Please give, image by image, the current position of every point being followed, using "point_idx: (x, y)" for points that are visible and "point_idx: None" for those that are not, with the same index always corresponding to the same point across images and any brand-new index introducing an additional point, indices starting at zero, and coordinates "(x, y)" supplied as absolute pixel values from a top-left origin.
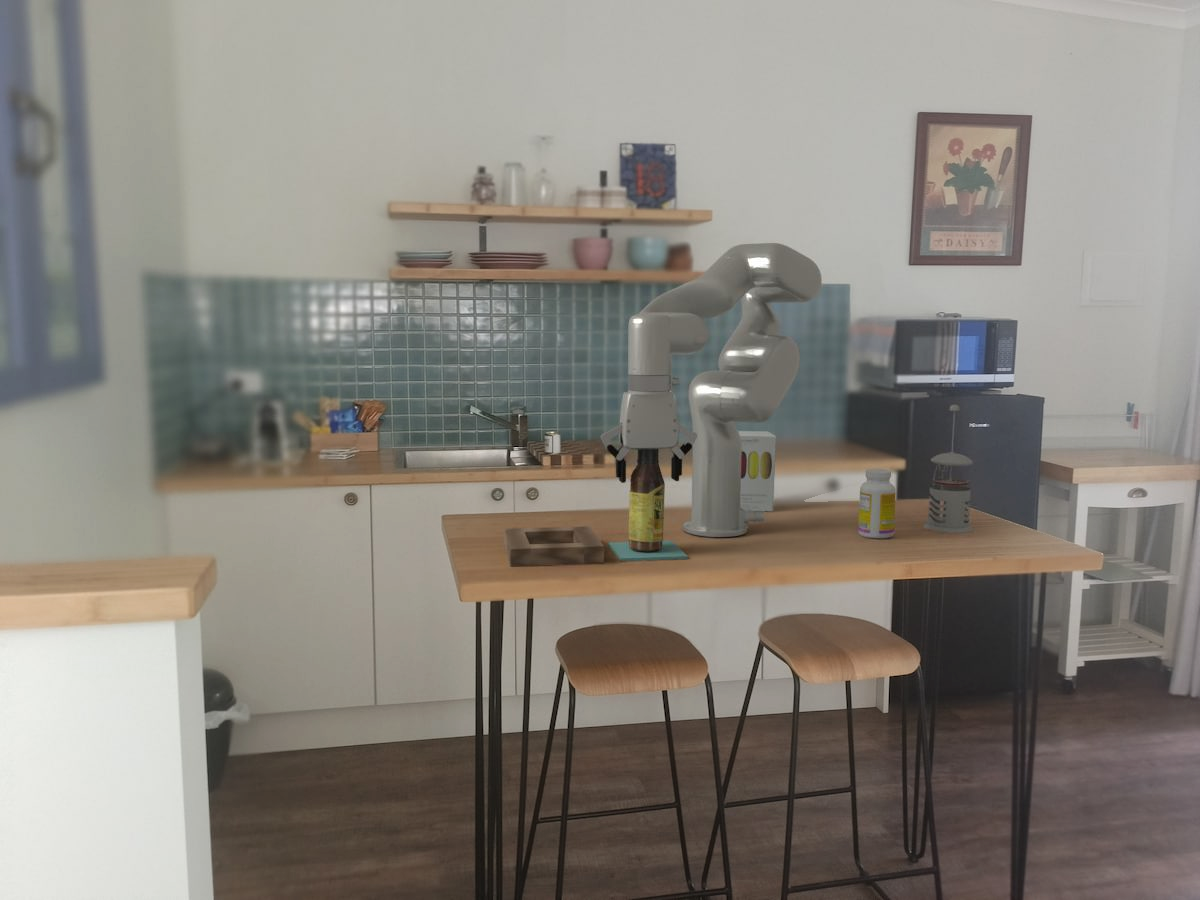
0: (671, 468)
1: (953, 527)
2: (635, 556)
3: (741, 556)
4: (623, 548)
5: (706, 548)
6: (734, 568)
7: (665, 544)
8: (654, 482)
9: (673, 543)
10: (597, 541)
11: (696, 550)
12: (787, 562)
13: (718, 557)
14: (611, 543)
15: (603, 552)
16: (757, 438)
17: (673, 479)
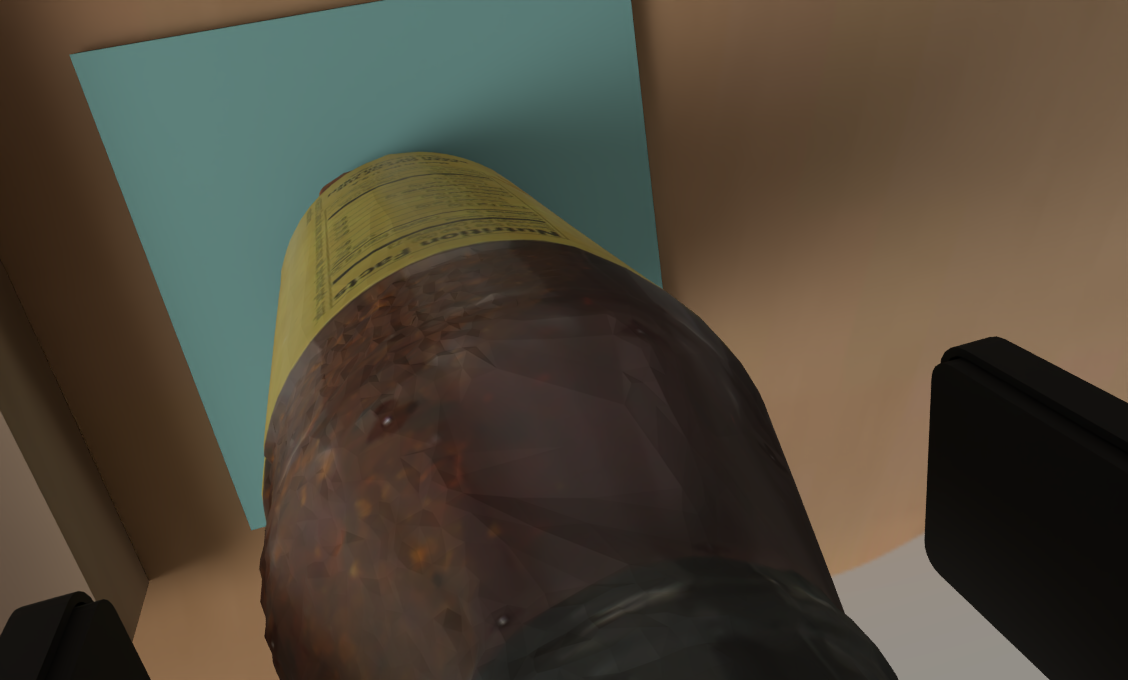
0: (1051, 439)
1: None
2: None
3: (963, 302)
4: (242, 261)
5: (829, 116)
6: (859, 536)
7: (567, 104)
8: None
9: (629, 63)
10: (36, 548)
11: (756, 179)
12: (1119, 392)
13: (842, 340)
14: (107, 91)
15: (131, 632)
16: None
17: (928, 480)
